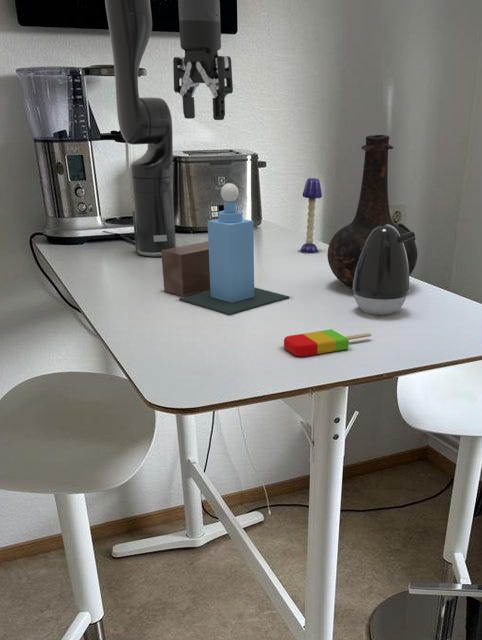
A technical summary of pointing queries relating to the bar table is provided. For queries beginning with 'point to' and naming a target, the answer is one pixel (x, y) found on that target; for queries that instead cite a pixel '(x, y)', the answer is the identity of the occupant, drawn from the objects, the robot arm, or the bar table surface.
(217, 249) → the bottle
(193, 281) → the block
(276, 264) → the bar table surface
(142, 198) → the robot arm
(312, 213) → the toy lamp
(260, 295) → the mat
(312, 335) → the popsicle
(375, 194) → the glass bottle
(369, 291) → the pump dispenser
